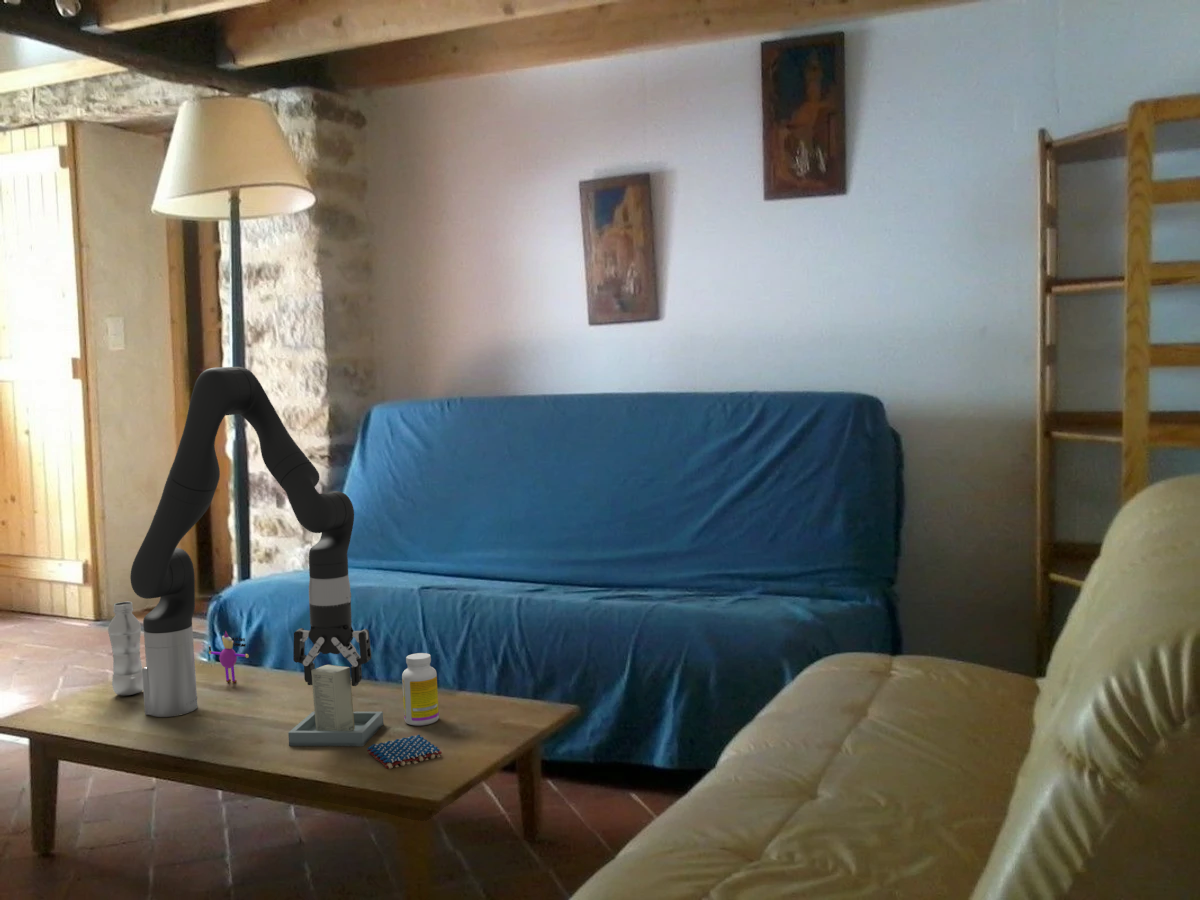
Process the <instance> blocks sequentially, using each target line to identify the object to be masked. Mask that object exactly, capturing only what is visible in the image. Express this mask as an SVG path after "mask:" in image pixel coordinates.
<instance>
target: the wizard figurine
mask: <svg viewBox="0 0 1200 900" xmlns="http://www.w3.org/2000/svg"><path fill="white" fill-rule="evenodd" d="M224 631H225V632H224V634H223V635H222V636H221V640H222V644H223V647H224V648H223V649H222V650H221V651H212V649H211V647H212V646H211V645H208V654H209V655H218V656H219V662H220V665H221V666H222V667H223V668H224V669H225V670H224V671H225V678H226V683H231V682H232V684H236V683H237V682H238V680H236V678H235V677H236V676H235V667H234V666H235V665H236V663H237V660H238V657H243V658H246V659H249V654H248V653H245V654H244V653H237V652H236V651H235V650H234V649H233V646H234V647H241V648H242V647H243V648H246V646H247V645H246V643H240V642H246V638H245V637H244V638H241V637H235V638H234V637H232V638H231V637H230V636H229V634H228V632H227V630H224ZM236 641H237V643H236ZM238 642H239V643H238ZM229 669H231V672H230V673H231V678H229V677H230V675H229V674H230V673H229Z"/></svg>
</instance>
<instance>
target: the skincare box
mask: <svg viewBox="0 0 1200 900" xmlns="http://www.w3.org/2000/svg"><path fill="white" fill-rule="evenodd" d="M311 674H312V685H311V686H312V695H313V696H312V697H313V698H312V699H313V706H314V707H313V708H314V709H313V710H314V711H315V723H316V731H352V730H354V729H355V726H354V714H353V712H354V703H353V692H352V682H351V666H350V667H349V666H343V665H342V666H341V665H335V664H334V665H333V664H325V665H321V666H319V667H315V669H313V670H311Z"/></svg>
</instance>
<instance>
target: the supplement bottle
mask: <svg viewBox="0 0 1200 900" xmlns="http://www.w3.org/2000/svg"><path fill="white" fill-rule="evenodd" d="M431 661H432V658H431V654H430V653H426V652H417V653H412V654H409V655H407V656H406V657H405V663H406V665H407V668H405V669H404V671H403V672H402V674H401V679H402V680H401V681H402V697H403V699H402V700H403V718H404V721H405V723H406V724H408V725H409V726H410V725H411V726H415V727H417V726H418V727H419V726H421V727H422V726H427V725H430V724H434V723H436V722H437V721H438V720H439V717H440V712H439V710H440V708H439V693H438V676H437V675H438V674H437V670H436V669H435V668H434V667H433V666H431Z"/></svg>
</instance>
